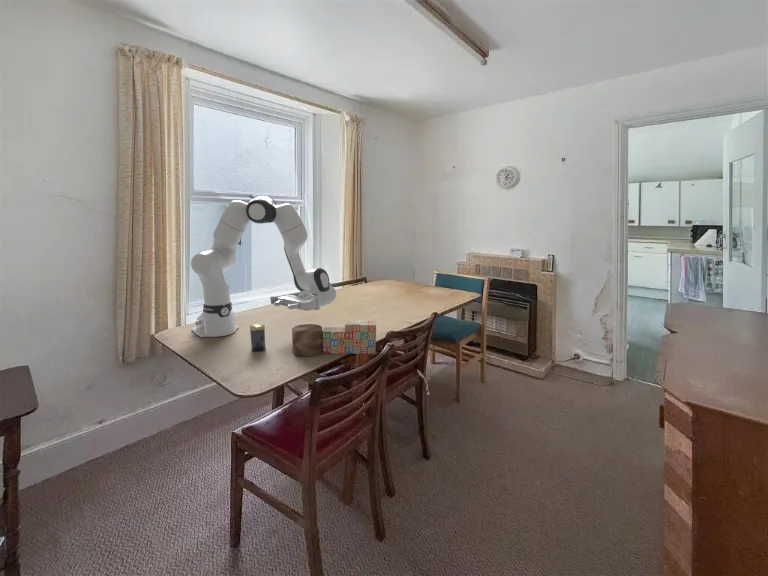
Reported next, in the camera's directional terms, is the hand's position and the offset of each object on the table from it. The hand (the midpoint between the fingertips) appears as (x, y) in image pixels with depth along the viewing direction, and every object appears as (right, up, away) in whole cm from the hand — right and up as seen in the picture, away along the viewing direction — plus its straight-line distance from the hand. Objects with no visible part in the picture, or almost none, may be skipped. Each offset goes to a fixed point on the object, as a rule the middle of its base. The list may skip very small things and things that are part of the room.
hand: (281, 305), depth 164 cm
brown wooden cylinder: (+13, -18, -9) cm, 24 cm away
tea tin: (-8, -18, -6) cm, 20 cm away
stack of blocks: (+30, -18, -7) cm, 36 cm away
